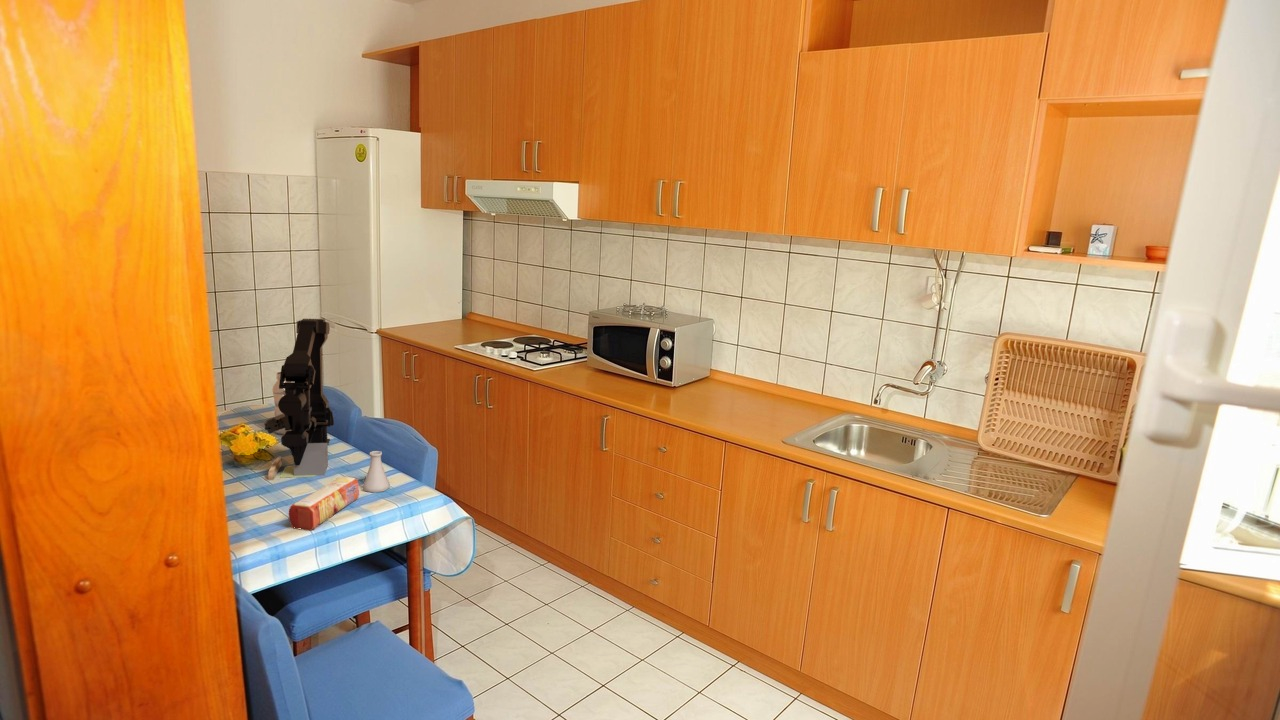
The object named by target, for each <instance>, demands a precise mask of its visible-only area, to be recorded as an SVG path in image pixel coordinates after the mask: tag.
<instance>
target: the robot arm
mask: <svg viewBox="0 0 1280 720" xmlns="http://www.w3.org/2000/svg"><path fill="white" fill-rule="evenodd" d="M330 328H331V327H330V322H327V321H326V319H324V318H302V319H299V320H296V329H295V330H296V334H297V335H296V339H295V342H294V346H293V350H292V353H291V354H288V356H286V357H285V360H284V363H283V364H282V365H281V370H280V372H281V375H280V383H279V389H285V394H284V396H283V397H282V398H281V399H280V400H279V403H278V407H279V410H280V411H281V412H282V413H283V414H282V415H279V416H276V417H275V416H273V417H270V418H268V419H266V421H265V422H264V423H263V424H264V430H265V431H267V433H268V434H273V433H274V432H275V431H277V430H280V429H283V428H285V430H291V431H287V432H285V433H284V434H282V436H281V438H280V440H281V441H280V443H281V445H282V446H283V447H285V448H288V449H289V451H290V453H291V454H290V455H291V456H292V460H293V464H294V463H295V465H300V463H301V460H302V458H303V455H304V452H305V450H306V447H307V444H308V443H328V445H329V443H330V442H329V441H331V439H330V438H328V428H329V427H331V426H334V425H335V418H334V413H333V411H332V408H331V407H330V402H329V400H328V398H327V397H326V395H325V394H324V384H323V383H324V382H323V381H324V376H323V374H324V373H323V372H324V371H323V369H324V368H323V346H324V345H325V344H326V342H327V340H328V337H329V334H330ZM285 378H286V382H284V381H285ZM275 433H276V432H275Z"/></svg>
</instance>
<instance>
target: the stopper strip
mask: <svg viewBox="0 0 1280 720" xmlns="http://www.w3.org/2000/svg"><path fill="white" fill-rule="evenodd" d="M281 466H282V456H277V457H276V459H275V460H274V462H273V464H272V465H271V467H270V468H269V470H268V481H273V480H274V479H275V477H276V476H277V474H278V472H279V470H280V469H281Z"/></svg>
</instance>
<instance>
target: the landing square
mask: <svg viewBox="0 0 1280 720" xmlns="http://www.w3.org/2000/svg"><path fill="white" fill-rule="evenodd" d="M311 477H312V478H314V477H317V476H316V475H303V476H294V465H286V466H285V468H284V469H283V471H282V473H281V475H280V477H279V478H280V479H284V478H285V479H287V478H311Z"/></svg>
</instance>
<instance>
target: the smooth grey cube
mask: <svg viewBox="0 0 1280 720" xmlns="http://www.w3.org/2000/svg"><path fill="white" fill-rule="evenodd" d="M328 448H329V444H328V443H308V444H307V447H306V450H305V452H304V455H303V458H302V460H301V463H300V465H295V463H294V462H293V466H294V476H303V475H316V477H318V476H319V477H320V476H325V475H326V472H327V470H328V467H329V450H328Z"/></svg>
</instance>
